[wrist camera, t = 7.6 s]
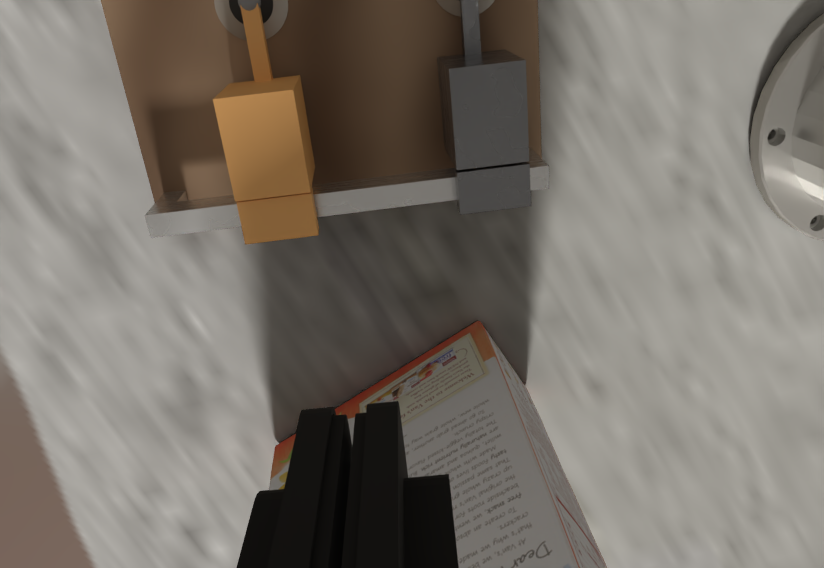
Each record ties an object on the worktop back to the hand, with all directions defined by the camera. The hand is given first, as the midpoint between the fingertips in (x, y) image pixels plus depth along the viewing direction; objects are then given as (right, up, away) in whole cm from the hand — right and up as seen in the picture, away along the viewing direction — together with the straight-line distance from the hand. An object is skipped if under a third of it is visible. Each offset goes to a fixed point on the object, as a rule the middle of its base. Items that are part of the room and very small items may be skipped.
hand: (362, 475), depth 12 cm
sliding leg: (-5, +11, +18) cm, 22 cm away
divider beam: (-2, +12, +19) cm, 22 cm away
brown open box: (-3, +13, +20) cm, 24 cm away
